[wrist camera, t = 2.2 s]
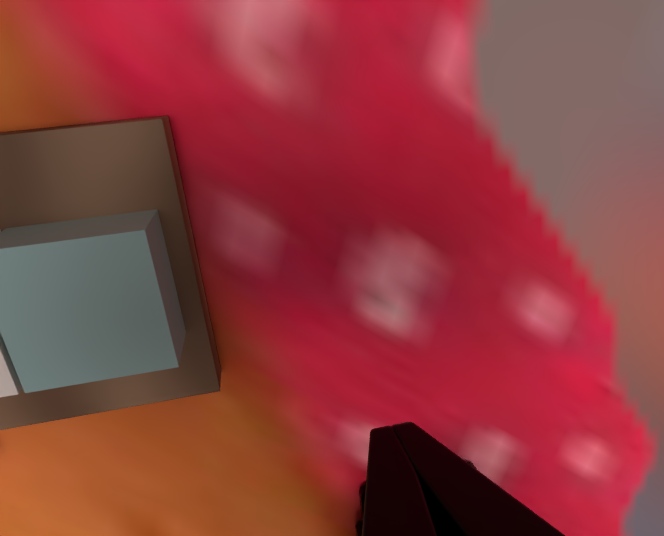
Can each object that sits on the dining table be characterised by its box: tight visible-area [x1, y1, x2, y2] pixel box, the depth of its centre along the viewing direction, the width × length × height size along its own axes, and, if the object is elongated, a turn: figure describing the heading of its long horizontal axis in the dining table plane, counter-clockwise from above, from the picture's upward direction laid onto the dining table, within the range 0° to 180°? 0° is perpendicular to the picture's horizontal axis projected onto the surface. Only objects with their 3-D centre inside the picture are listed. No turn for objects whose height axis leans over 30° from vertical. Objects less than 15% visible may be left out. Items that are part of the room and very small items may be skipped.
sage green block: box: [0, 209, 186, 393], centre depth 16 cm, size 5×5×2 cm
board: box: [0, 116, 221, 430], centre depth 18 cm, size 11×11×2 cm
